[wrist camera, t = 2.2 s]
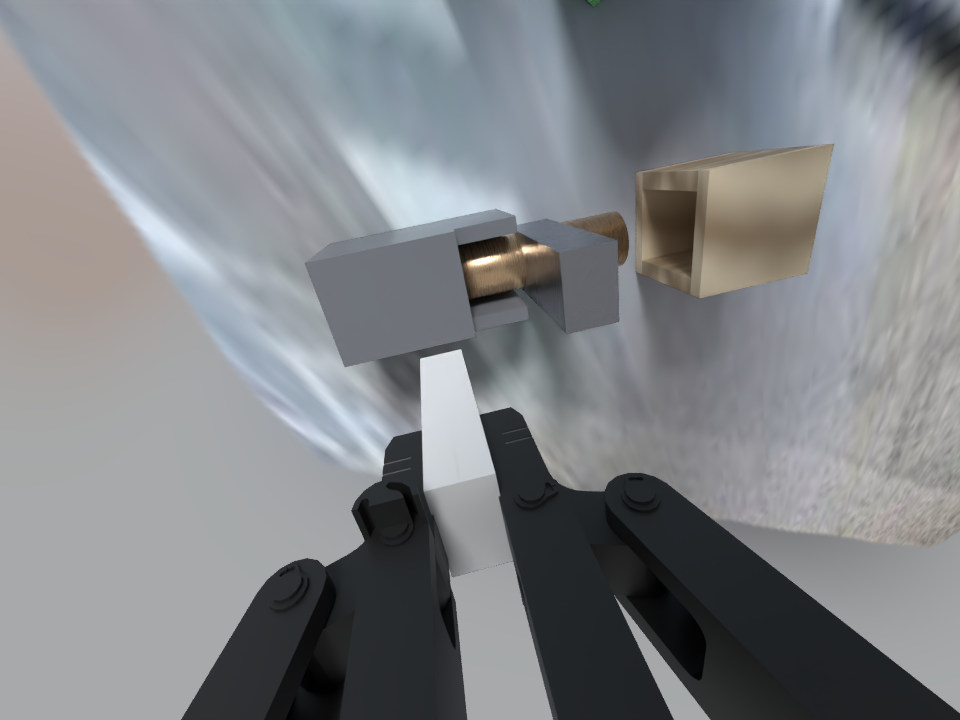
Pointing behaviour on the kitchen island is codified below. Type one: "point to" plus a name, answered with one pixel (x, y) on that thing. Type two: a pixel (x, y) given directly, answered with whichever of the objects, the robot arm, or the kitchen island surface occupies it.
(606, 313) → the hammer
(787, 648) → the robot arm
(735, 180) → the socket
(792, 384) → the kitchen island surface
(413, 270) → the sleeve
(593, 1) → the ink box
